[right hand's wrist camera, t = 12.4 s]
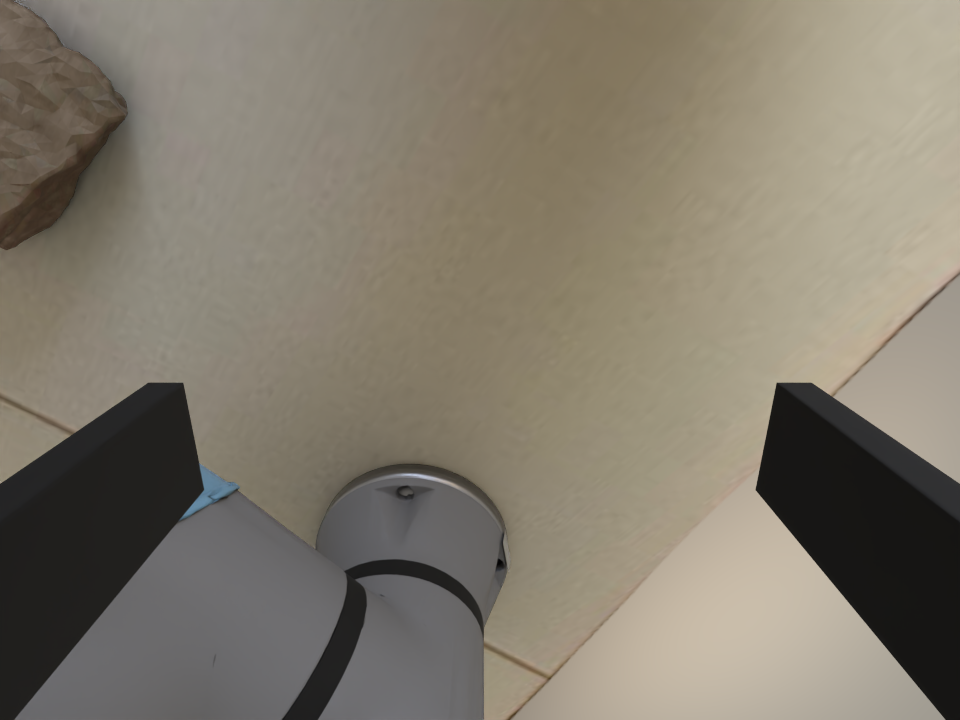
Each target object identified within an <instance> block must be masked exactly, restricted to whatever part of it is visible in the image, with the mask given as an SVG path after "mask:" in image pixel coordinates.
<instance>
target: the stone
mask: <svg viewBox="0 0 960 720" xmlns="http://www.w3.org/2000/svg"><path fill="white" fill-rule="evenodd" d="M127 114H128V112H127V105H126V101H125V100H124V98H123V97H122V96H121V95H120V94H119V93H117V92H116V91H114V89H113V87H112V84H111V82H110V80H109V79H108V78H107V77H106V76H105V75H104V74H103V73H102V72H101V70H100V69H99V67H97V66H96V65H95V64H94V63H93V62H92V61H90V60H89V59H87V58H86V57H84V56H83V55H81V53H79V52H76V51H73V50H70V49H68V48H66V47H63V45H62V43H61V42H60V40H59V38H58V37H57V35H56V34H55V33H54V32H53V31H52V30H51V29H50V28H49V26H48V25H47V23H46V21H45V20H43V19H42V18H40V17H39V16H38V15H36V14H35V13H33V12H32V11H31V10H29V9H27V8H25V7H23V6H21V5H19V4H17V3H15V2H14V1H12V0H0V247H1V248H3V249H5V250H8V249H11V248H13V247H16V246H17V245H18V244H19V243H21V242H23V241H24V240H26V239H28V238H30V237H31V236H33V235H35V234H37V233H39V232H41V231H42V230H45V229H47V228H49V227H50V226H51V225H52V224H53V223H54V222H55V221H56V220H57V219H58V218H59V217H60V216H61V214H62V212H63V211H64V209H65V208H66V207H67V206H68V205H69V202H70V199H71V198H72V197H73V195H74V191H75V188H76V184H77V181H78V178H79V175H80V174H81V172H82V171H83V170H84V169H85V168H86V167H87V166H88V165H89V164H90V163H91V161H92V159H93V158H94V157H95V155H96V154H97V153H98V151H99V150H100V149H101V148H102V146H103V145H104V144H105V143H106V141H107V138H108V136H109V134H110V133H111V132H113V131H114V130H116V128H117V127H118V126H119V124H120V123H121V122H122V121H123V120H124V119H125V117H126V115H127Z"/></svg>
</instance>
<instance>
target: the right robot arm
mask: <svg viewBox="0 0 960 720" xmlns="http://www.w3.org/2000/svg"><path fill="white" fill-rule="evenodd" d="M239 488H240V486H238V485H237V484H236V483H234V482H226V481H225V480H223V479H222V478H221V477H219V476H218V475H216V474H215V473H213V472H212V471H210V470H209V469H207V468H206V467H204V466H203V465H201V464H200V463H199V460H198V455H197V450H196V445H195V440H194V435H193V430H192V425H191V420H190V415H189V410H188V405H187V400H186V395H185V389H184V384H183V383H147V384H146V385H145V386H143V387H142V388H140V389H139V390H137V391H136V392H134V393H133V394H131V395H130V396H128V397H127V398H126V399H124V400H123V401H121V402H120V403H118V404H117V405H115V406H114V407H112V408H111V409H109V410H108V411H106V412H105V413H104V414H102V415H101V416H99V417H98V418H96V419H95V420H93V421H92V422H90V423H89V424H87V425H86V426H84V427H83V428H82V429H80V430H79V431H77V432H76V433H74V434H73V435H71V436H70V437H68V438H67V439H65V440H64V441H62V442H61V443H60V444H58V445H57V446H55V447H54V448H52V449H51V450H49V451H48V452H46V453H45V454H43V455H42V456H41V457H39V458H38V459H36V460H35V461H33V462H32V463H30V464H29V465H27V466H26V467H24V468H23V469H21V470H20V471H19V472H17V473H16V474H14V475H13V476H11V477H10V478H8V479H7V480H5V481H4V482H2V483H1V484H0V720H484V626H485V624H486V622H487V619H488V617H489V615H490V612H491V610H492V608H493V605H494V603H495V601H496V599H497V596H498V594H499V592H500V589H501V587H502V585H503V583H504V580H505V577H506V573H507V568H508V573H509V569H510V563H511V558H510V553H509V547H508V542H507V533H506V528H505V525H504V522H503V519H502V517H501V515H500V513H499V511H498V510H497V508H496V506H495V505H494V504H493V502H492V501H491V500H490V499H489V497H488V496H487V495H486V494H485V493H484V492H483V491H482V490H480V489H479V488H478V487H477V486H475V485H474V484H473V483H471V482H470V481H468V480H466V479H465V478H463V477H461V476H459V475H457V474H455V473H452V472H450V471H447V470H444V469H441V468H437V467H433V466H428V465H419V464H399V465H392V466H386V467H382V468H378V469H375V470H372V471H370V472H368V473H365V474H363V475H361V476H359V477H358V478H356V479H354V480H353V481H352V482H350V483H349V484H348V485H346V486H345V487H344V488H343V489H342V490H341V491H340V492H339V493H338V494H337V495H336V497H335V498H334V499H333V501H332V503H331V504H330V506H329V508H328V510H327V512H326V514H325V517H324V519H323V521H322V523H321V526H320V528H319V531H318V535H317V540H316V550H315V549H314V548H313V547H311V546H310V545H309V544H307V543H306V542H305V541H303V540H302V539H300V538H299V537H298V536H296V535H295V534H294V533H292V532H291V531H290V530H288V529H287V528H286V527H284V526H283V525H282V524H280V523H279V522H278V521H277V520H275V519H274V518H273V517H271V516H270V515H269V514H268V513H266V512H265V511H264V510H262V509H261V508H260V507H258V506H257V505H256V504H255V503H253V502H252V501H251V500H249V499H248V498H247V497H245V496H244V495H243V494H242V493H240V492H239V491H238V489H239ZM756 491H757V492H758V493H759V495H760V496H761V497H762V498H763V499H764V501H765V502H766V503H767V504H768V505H769V507H770V508H771V509H772V510H773V512H774V513H775V514H776V515H777V516H778V518H779V519H780V520H781V521H782V522H783V524H784V525H785V526H786V527H787V528H788V530H789V531H790V532H791V533H792V534H793V536H794V537H795V538H796V539H797V541H798V542H799V543H800V544H801V545H802V547H803V548H804V549H805V550H806V551H807V553H808V554H809V555H810V556H811V557H812V559H813V560H814V561H815V562H816V564H817V565H818V566H819V567H820V568H821V570H822V571H823V572H824V573H825V574H826V576H827V577H828V578H829V579H830V580H831V582H832V583H833V584H834V585H835V587H836V588H837V589H838V590H839V591H840V593H841V594H842V595H843V596H844V597H845V599H846V600H847V601H848V602H849V603H850V605H851V606H852V607H853V608H854V609H855V611H856V612H857V613H858V614H859V615H860V617H861V618H862V619H863V620H864V622H865V623H866V624H867V625H868V626H869V628H870V629H871V630H872V631H873V632H874V634H875V635H876V636H877V637H878V638H879V640H880V641H881V642H882V643H883V645H884V646H885V647H886V648H887V649H888V651H889V652H890V653H891V654H892V655H893V657H894V658H895V659H896V660H897V661H898V663H899V664H900V665H901V666H902V667H903V669H904V670H905V671H906V672H907V674H908V675H909V676H910V677H911V678H912V680H913V681H914V682H915V683H916V684H917V686H918V687H919V688H920V689H921V690H922V692H923V693H924V694H925V695H926V696H927V698H928V699H929V700H930V701H931V703H932V704H933V705H934V706H935V707H936V709H937V710H938V711H939V712H940V713H941V715H942V716H943V717H944V718H945V720H960V484H959V483H958V482H956V481H955V480H953V479H952V478H950V477H949V476H947V475H946V474H944V473H943V472H941V471H940V470H939V469H937V468H936V467H934V466H933V465H931V464H930V463H928V462H927V461H925V460H924V459H922V458H921V457H919V456H918V455H917V454H915V453H914V452H912V451H911V450H909V449H908V448H906V447H905V446H903V445H902V444H900V443H899V442H898V441H896V440H895V439H893V438H892V437H890V436H889V435H887V434H886V433H884V432H883V431H881V430H880V429H878V428H877V427H875V426H874V425H873V424H871V423H870V422H868V421H867V420H865V419H864V418H862V417H861V416H859V415H858V414H856V413H855V412H854V411H852V410H850V409H849V408H848V407H846V406H845V405H843V404H842V403H840V402H839V401H837V400H836V399H834V398H833V397H832V396H830V395H829V394H827V393H826V392H824V391H823V390H821V389H820V388H818V387H817V386H815V385H814V384H813V383H777V384H776V389H775V395H774V400H773V405H772V410H771V415H770V420H769V425H768V430H767V435H766V440H765V445H764V450H763V455H762V460H761V465H760V470H759V476H758V481H757V486H756Z"/></svg>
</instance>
